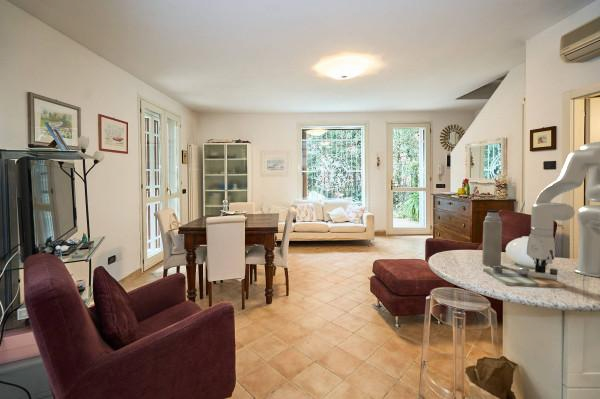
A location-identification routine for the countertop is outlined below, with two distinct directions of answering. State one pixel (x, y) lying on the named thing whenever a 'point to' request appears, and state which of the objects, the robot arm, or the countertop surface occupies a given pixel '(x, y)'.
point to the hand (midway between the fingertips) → (540, 274)
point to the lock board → (520, 278)
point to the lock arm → (538, 273)
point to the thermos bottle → (492, 239)
